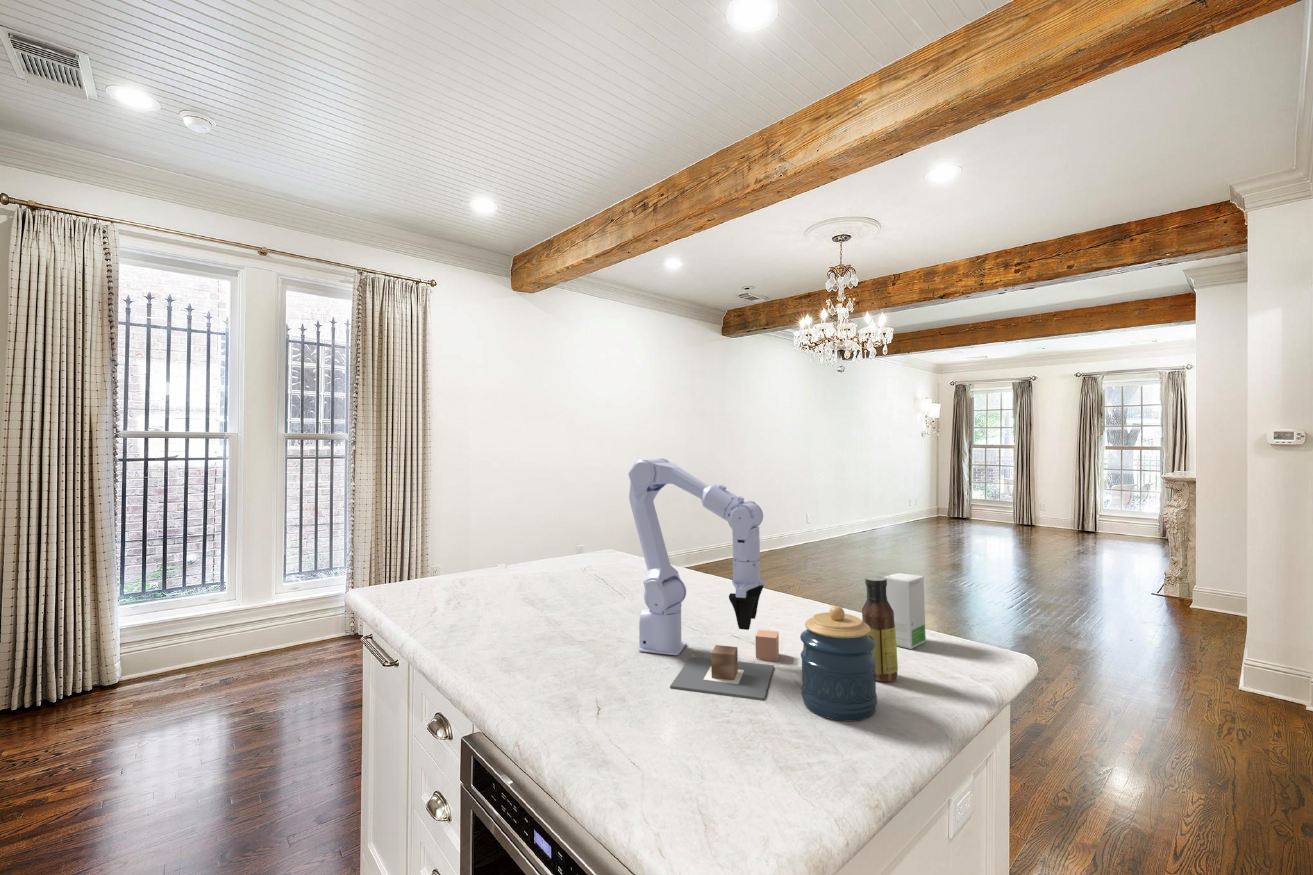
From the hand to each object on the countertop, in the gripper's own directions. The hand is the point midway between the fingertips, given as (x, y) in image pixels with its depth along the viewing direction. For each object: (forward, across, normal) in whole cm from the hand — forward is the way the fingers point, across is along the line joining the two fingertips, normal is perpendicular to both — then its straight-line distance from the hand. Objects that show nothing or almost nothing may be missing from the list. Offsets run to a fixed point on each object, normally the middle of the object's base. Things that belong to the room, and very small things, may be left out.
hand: (747, 623), depth 118 cm
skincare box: (+9, +25, -33) cm, 42 cm away
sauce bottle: (+9, +2, -26) cm, 28 cm away
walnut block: (+8, -7, +3) cm, 12 cm away
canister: (+9, -13, -18) cm, 24 cm away
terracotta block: (+9, +7, -3) cm, 12 cm away
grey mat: (+9, -7, +4) cm, 12 cm away
